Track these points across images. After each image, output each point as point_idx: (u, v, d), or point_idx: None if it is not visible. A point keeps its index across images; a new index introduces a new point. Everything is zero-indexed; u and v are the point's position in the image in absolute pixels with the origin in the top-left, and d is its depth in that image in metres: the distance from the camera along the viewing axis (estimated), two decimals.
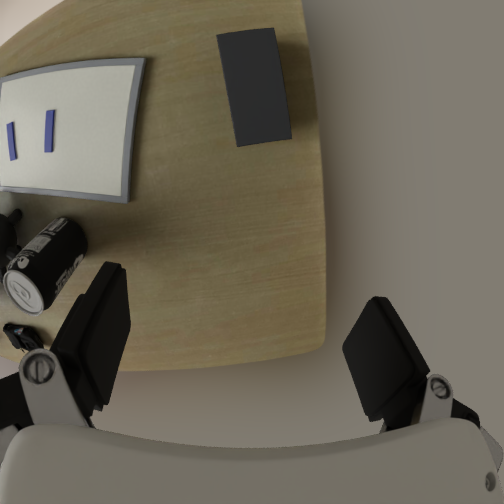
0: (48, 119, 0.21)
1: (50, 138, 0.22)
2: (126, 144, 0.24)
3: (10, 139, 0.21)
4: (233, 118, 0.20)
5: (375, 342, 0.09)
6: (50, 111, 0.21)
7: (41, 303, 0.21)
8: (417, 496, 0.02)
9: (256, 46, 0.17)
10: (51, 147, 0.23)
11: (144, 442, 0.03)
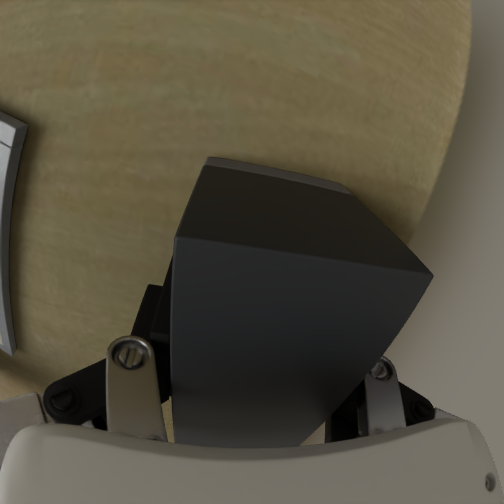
0: None
1: None
2: None
3: None
4: (177, 438, 0.07)
5: None
6: None
7: None
8: (417, 496, 0.02)
9: (329, 338, 0.05)
10: None
11: (144, 442, 0.03)
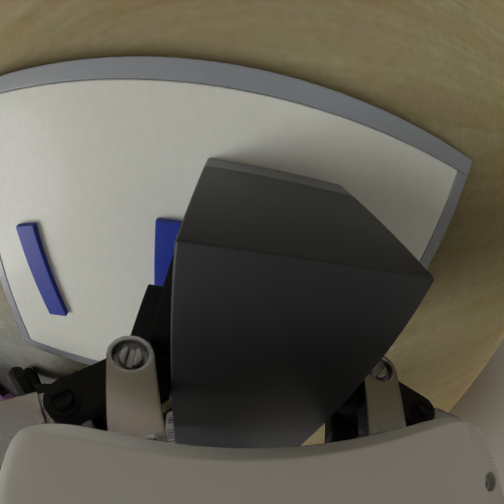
0: (168, 249, 0.10)
1: None
2: None
3: (39, 270, 0.10)
4: (178, 439, 0.07)
5: None
6: (175, 226, 0.09)
7: None
8: (417, 496, 0.02)
9: (329, 341, 0.05)
10: None
11: (144, 442, 0.03)
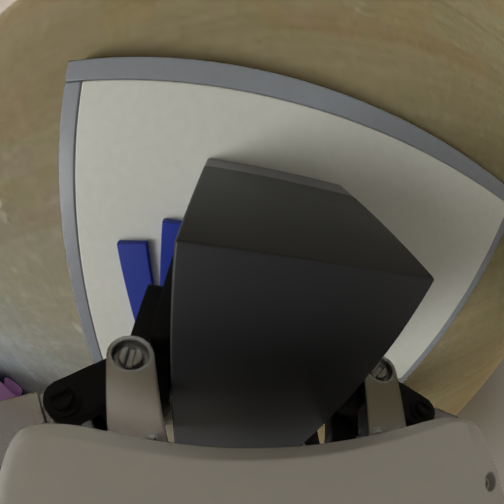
0: None
1: None
2: (448, 322, 0.14)
3: (142, 292, 0.10)
4: (178, 440, 0.07)
5: None
6: None
7: None
8: (417, 496, 0.02)
9: (329, 341, 0.05)
10: None
11: (144, 442, 0.03)
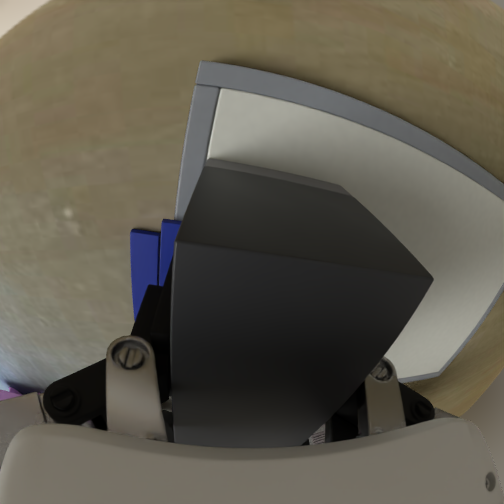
0: None
1: None
2: (480, 321, 0.15)
3: (143, 275, 0.11)
4: (178, 440, 0.07)
5: None
6: None
7: None
8: (417, 496, 0.02)
9: (329, 341, 0.05)
10: None
11: (144, 442, 0.03)
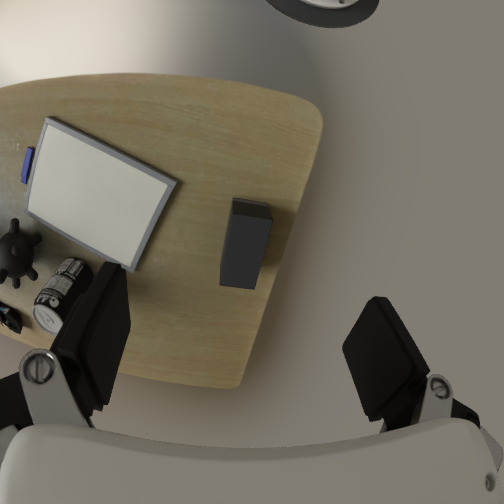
0: (27, 154, 0.28)
1: (26, 169, 0.29)
2: (144, 238, 0.36)
3: None
4: (223, 270, 0.34)
5: (375, 342, 0.09)
6: (30, 149, 0.27)
7: None
8: (417, 496, 0.02)
9: (255, 231, 0.31)
10: (26, 175, 0.29)
11: (144, 442, 0.03)
